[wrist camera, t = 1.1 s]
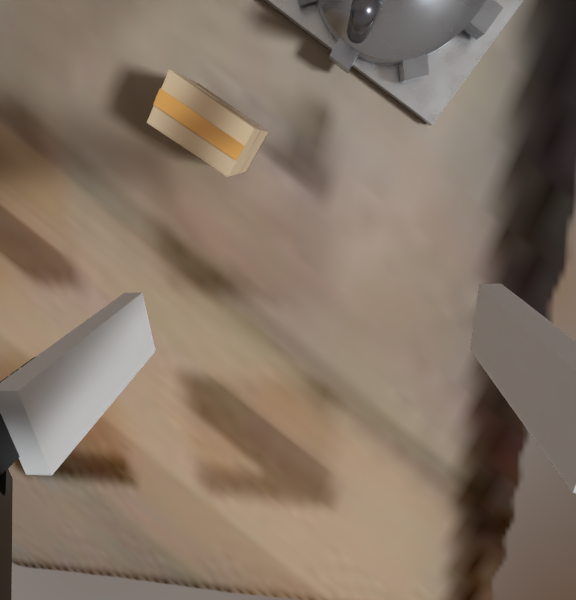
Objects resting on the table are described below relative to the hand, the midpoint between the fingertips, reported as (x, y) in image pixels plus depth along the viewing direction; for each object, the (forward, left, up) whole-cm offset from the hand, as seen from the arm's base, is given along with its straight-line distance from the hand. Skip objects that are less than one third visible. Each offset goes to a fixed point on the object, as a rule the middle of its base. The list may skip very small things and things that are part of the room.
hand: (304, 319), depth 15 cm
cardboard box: (-11, +2, -23) cm, 26 cm away
